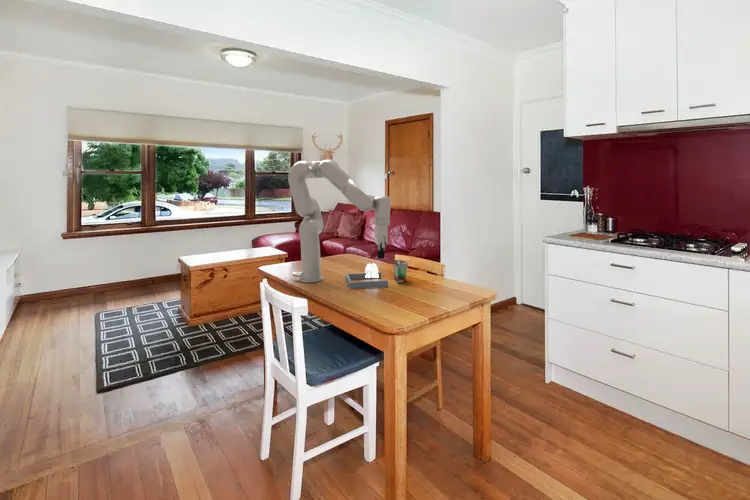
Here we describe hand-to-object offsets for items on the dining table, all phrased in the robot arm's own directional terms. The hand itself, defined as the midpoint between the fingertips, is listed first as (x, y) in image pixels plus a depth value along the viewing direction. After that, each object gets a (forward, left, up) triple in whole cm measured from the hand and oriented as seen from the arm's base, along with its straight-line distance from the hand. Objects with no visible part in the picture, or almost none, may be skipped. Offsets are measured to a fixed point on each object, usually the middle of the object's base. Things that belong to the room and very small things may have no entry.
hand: (380, 258), depth 209 cm
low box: (-7, 0, -12) cm, 14 cm away
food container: (+11, 0, -13) cm, 16 cm away
